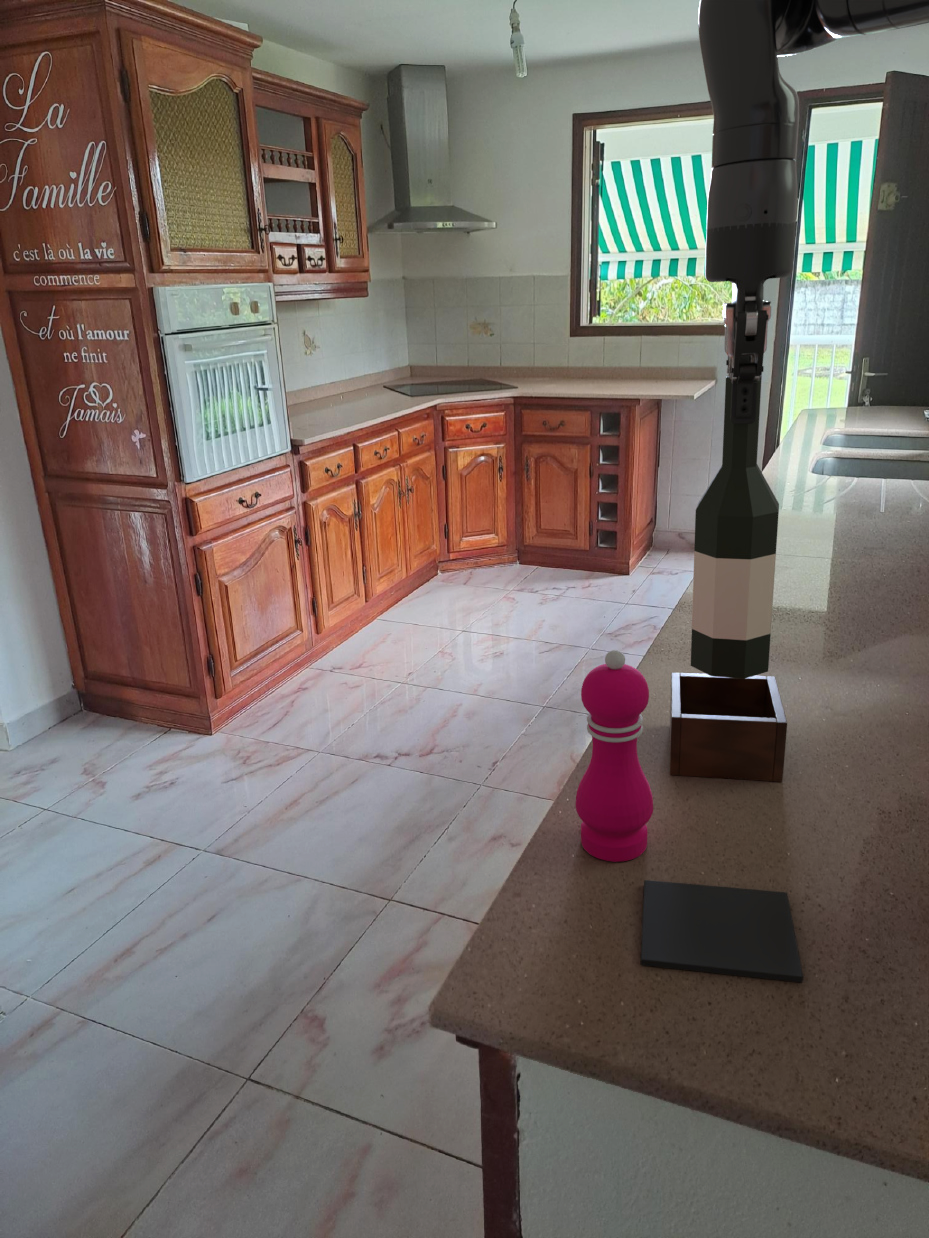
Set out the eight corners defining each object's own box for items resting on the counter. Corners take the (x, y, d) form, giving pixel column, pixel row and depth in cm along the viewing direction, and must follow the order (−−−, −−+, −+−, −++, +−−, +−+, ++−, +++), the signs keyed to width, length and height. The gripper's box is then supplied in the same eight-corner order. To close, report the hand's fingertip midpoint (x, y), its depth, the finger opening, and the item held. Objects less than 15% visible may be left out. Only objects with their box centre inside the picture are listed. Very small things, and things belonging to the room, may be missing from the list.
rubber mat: (786, 897, 75) (787, 892, 75) (802, 982, 66) (803, 976, 66) (644, 885, 78) (644, 879, 78) (640, 965, 69) (640, 959, 69)
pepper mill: (641, 873, 80) (645, 671, 73) (565, 856, 83) (562, 661, 76) (660, 829, 86) (665, 640, 79) (588, 815, 89) (587, 631, 82)
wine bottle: (754, 644, 96) (770, 360, 86) (784, 675, 88) (807, 367, 78) (679, 650, 96) (686, 366, 86) (703, 682, 88) (714, 373, 78)
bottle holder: (771, 730, 103) (775, 676, 101) (782, 782, 93) (787, 722, 90) (669, 725, 106) (671, 672, 103) (669, 775, 95) (671, 717, 93)
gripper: (806, 213, 70) (792, 431, 76) (786, 223, 83) (775, 409, 89) (709, 221, 72) (702, 433, 78) (704, 230, 85) (698, 411, 91)
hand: (741, 419), depth 84 cm, fingers closed on wine bottle, 3 cm apart
